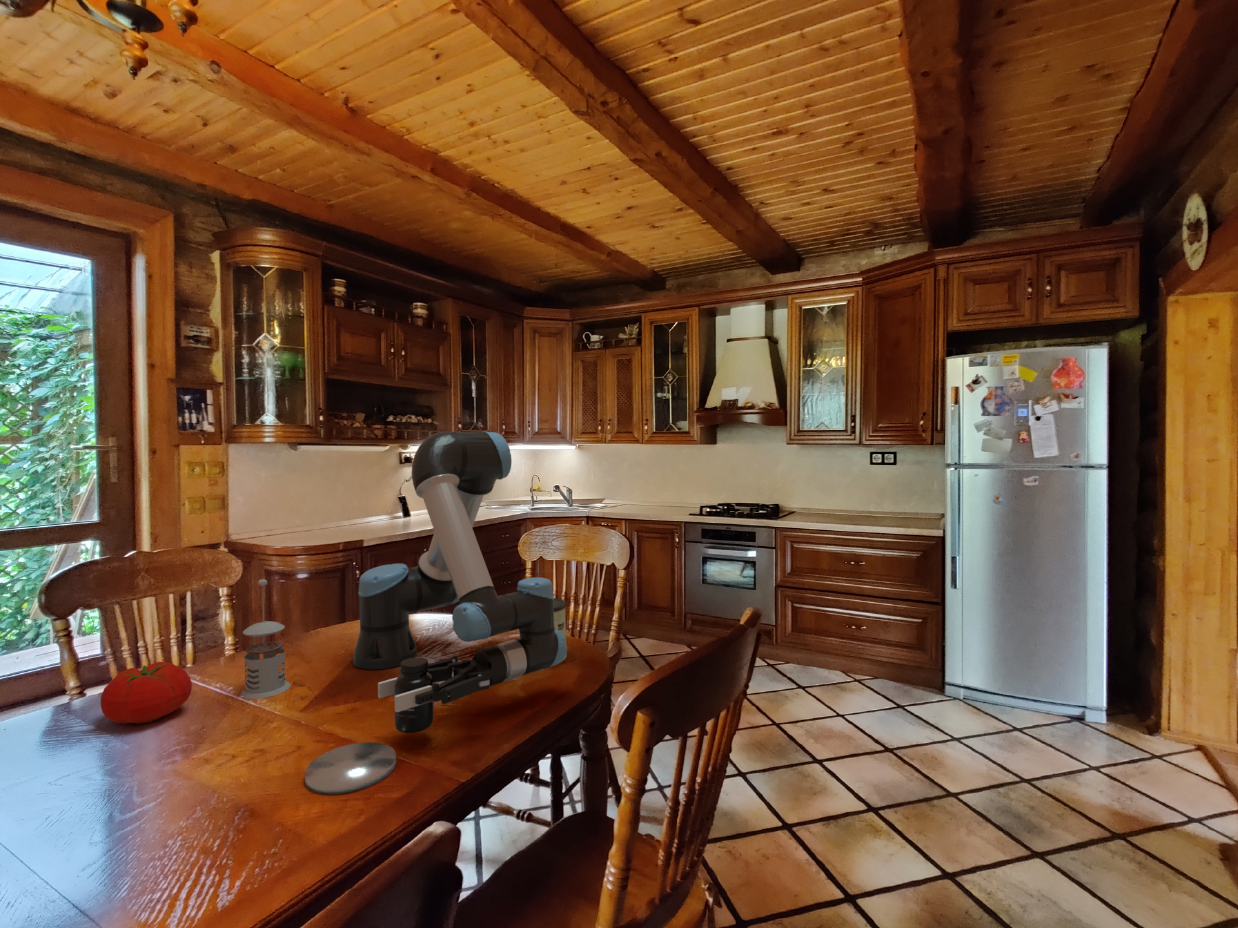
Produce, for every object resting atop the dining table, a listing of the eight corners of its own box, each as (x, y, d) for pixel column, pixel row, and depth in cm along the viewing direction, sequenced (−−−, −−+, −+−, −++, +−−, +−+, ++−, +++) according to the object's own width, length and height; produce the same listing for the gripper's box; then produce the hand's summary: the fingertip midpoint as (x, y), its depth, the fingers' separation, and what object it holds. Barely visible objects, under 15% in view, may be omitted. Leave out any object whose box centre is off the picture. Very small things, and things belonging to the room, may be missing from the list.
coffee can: (531, 649, 159) (530, 597, 159) (569, 650, 158) (569, 597, 158) (521, 664, 149) (520, 608, 149) (562, 665, 148) (561, 608, 147)
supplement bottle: (397, 737, 106) (396, 671, 106) (392, 721, 113) (391, 658, 112) (437, 729, 110) (436, 664, 109) (430, 713, 116) (429, 652, 115)
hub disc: (294, 769, 102) (294, 762, 102) (377, 740, 111) (377, 734, 111) (320, 805, 92) (320, 797, 92) (409, 770, 101) (409, 763, 101)
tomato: (173, 694, 133) (171, 650, 133) (204, 713, 124) (202, 666, 123) (89, 719, 121) (86, 671, 121) (116, 742, 112) (113, 690, 111)
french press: (244, 702, 128) (240, 586, 127) (235, 686, 137) (231, 577, 136) (295, 689, 135) (292, 579, 134) (283, 675, 144) (279, 571, 143)
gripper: (526, 696, 116) (411, 738, 100) (474, 667, 130) (366, 699, 115) (526, 658, 116) (410, 694, 100) (474, 633, 130) (365, 661, 114)
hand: (387, 697), depth 107 cm, fingers closed on supplement bottle, 7 cm apart
